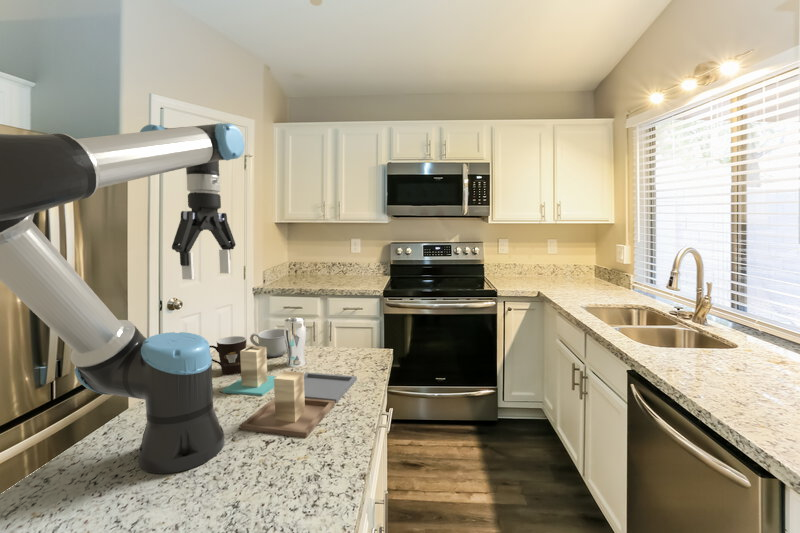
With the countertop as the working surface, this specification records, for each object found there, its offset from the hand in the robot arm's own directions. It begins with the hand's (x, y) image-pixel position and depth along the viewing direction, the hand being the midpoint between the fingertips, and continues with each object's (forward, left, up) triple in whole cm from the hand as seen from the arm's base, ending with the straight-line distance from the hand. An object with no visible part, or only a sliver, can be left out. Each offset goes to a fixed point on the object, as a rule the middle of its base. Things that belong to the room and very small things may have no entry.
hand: (208, 276), depth 103 cm
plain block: (-6, -26, -32) cm, 42 cm away
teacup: (+36, +4, -33) cm, 49 cm away
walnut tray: (-6, -26, -32) cm, 42 cm away
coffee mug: (+18, +8, -33) cm, 38 cm away
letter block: (+9, -7, -32) cm, 33 cm away
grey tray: (+11, -26, -32) cm, 43 cm away
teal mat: (+9, -7, -32) cm, 34 cm away
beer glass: (+28, -10, -33) cm, 44 cm away
